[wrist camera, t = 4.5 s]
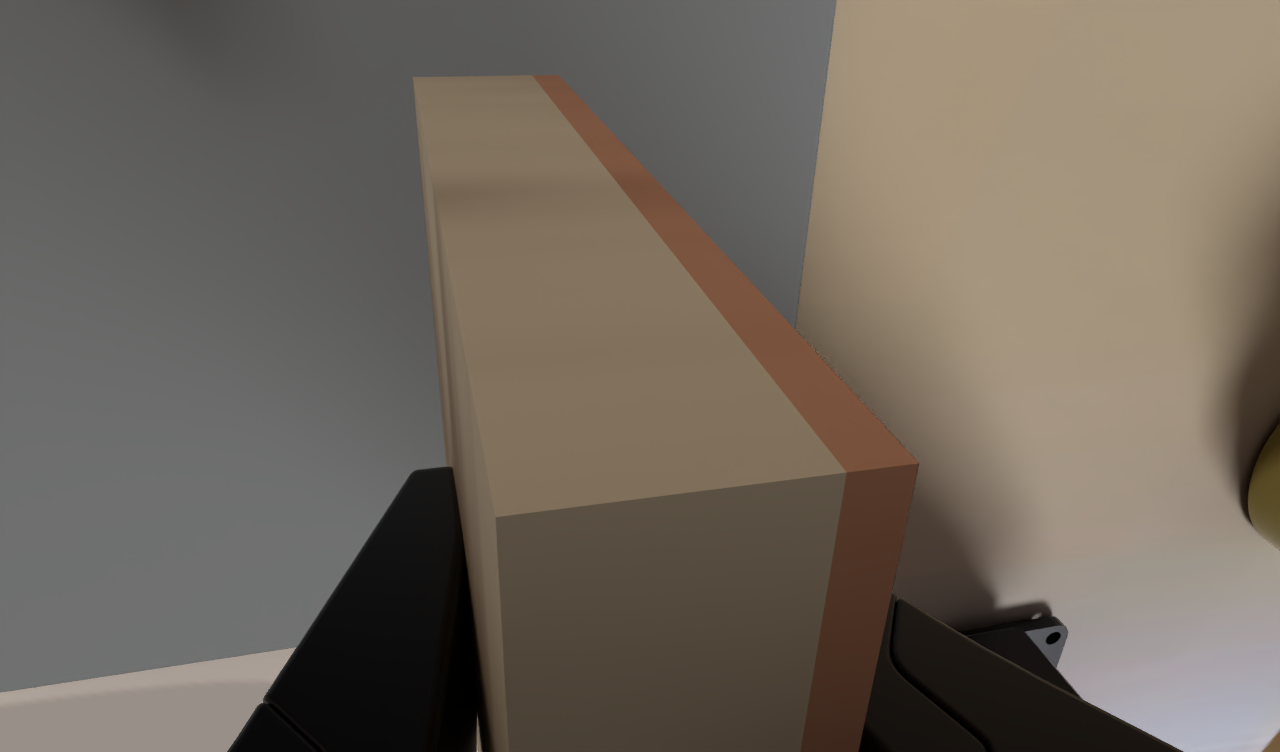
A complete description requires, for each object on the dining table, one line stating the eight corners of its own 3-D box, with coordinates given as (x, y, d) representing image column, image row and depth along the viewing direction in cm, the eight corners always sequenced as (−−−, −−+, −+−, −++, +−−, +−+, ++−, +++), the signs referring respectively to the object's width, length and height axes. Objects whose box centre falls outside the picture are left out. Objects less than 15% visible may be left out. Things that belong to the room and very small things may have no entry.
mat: (755, 560, 24) (764, 575, 23) (-37, 677, 19) (-47, 699, 19) (897, -636, 13) (919, -657, 13) (-771, -945, 9) (-839, -993, 8)
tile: (563, 506, 13) (767, 1185, 6) (450, 520, 13) (537, 1259, 6) (558, 75, 10) (919, 463, 3) (412, 76, 10) (495, 517, 3)
